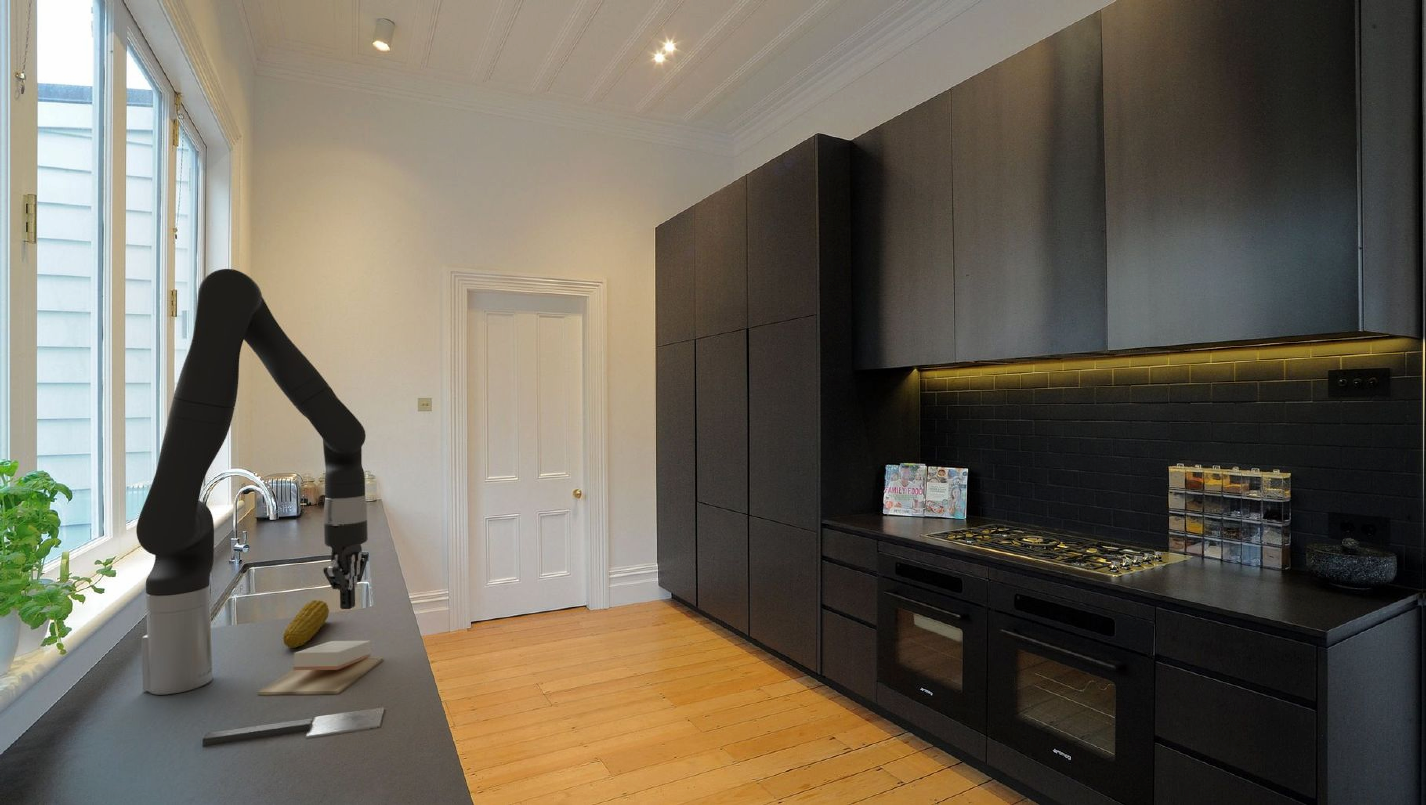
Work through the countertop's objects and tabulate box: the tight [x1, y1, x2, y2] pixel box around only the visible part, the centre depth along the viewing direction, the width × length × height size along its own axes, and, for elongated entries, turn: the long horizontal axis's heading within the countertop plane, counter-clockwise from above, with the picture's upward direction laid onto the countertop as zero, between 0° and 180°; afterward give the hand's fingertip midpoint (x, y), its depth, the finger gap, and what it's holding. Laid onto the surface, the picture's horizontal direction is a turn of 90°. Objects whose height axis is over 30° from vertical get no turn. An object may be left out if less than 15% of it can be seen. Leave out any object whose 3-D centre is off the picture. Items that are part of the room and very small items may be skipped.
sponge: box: [292, 640, 372, 670], centre depth 137 cm, size 8×3×12 cm
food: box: [282, 599, 330, 649], centre depth 157 cm, size 21×6×6 cm, turn 17°
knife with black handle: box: [202, 706, 385, 748], centre depth 112 cm, size 24×7×1 cm, turn 108°
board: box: [257, 657, 384, 696], centre depth 133 cm, size 14×16×1 cm
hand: (347, 607), depth 142 cm, fingers closed
